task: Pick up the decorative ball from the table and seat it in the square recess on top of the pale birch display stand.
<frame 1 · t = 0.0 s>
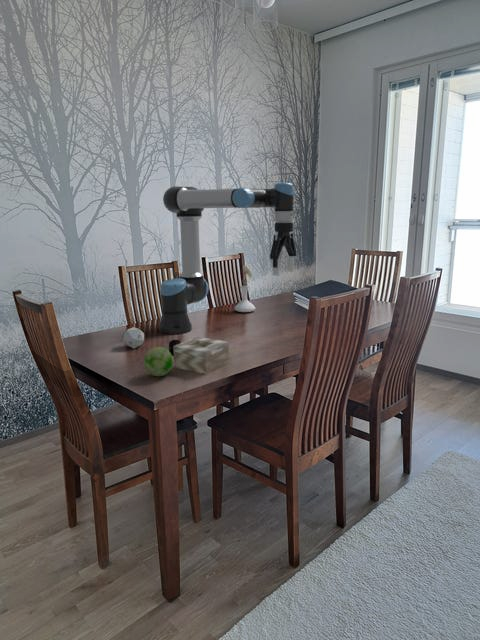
hand: (283, 273, 196), 28 cm above the table, tool pointing down, fingers open, 13 cm apart
decorative ball: (159, 376, 158), on the table
black box: (175, 353, 185), on the table
display stand: (201, 365, 168), on the table
grey faceted polyhedron: (134, 347, 192), on the table
flower in vase: (245, 311, 254), on the table
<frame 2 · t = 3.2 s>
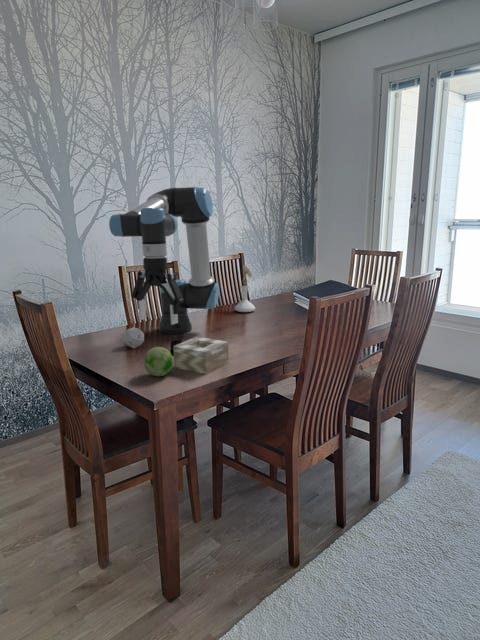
hand: (158, 321, 154), 19 cm above the table, tool pointing down, fingers open, 13 cm apart
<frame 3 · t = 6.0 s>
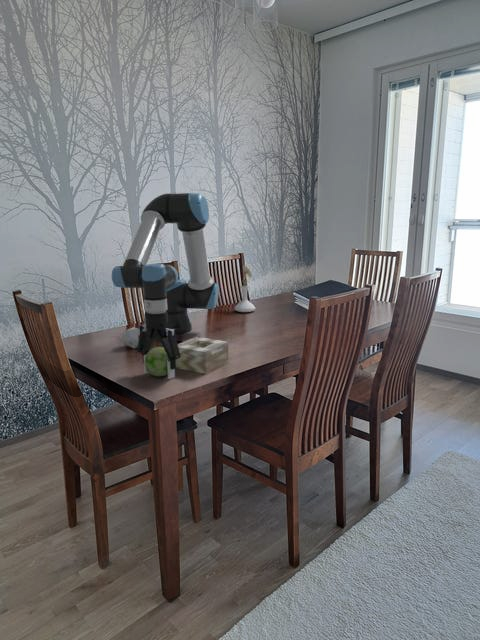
hand: (159, 375, 158), 0 cm above the table, tool pointing down, fingers closed on decorative ball, 10 cm apart
decorative ball: (160, 376, 158), on the table, touching gripper
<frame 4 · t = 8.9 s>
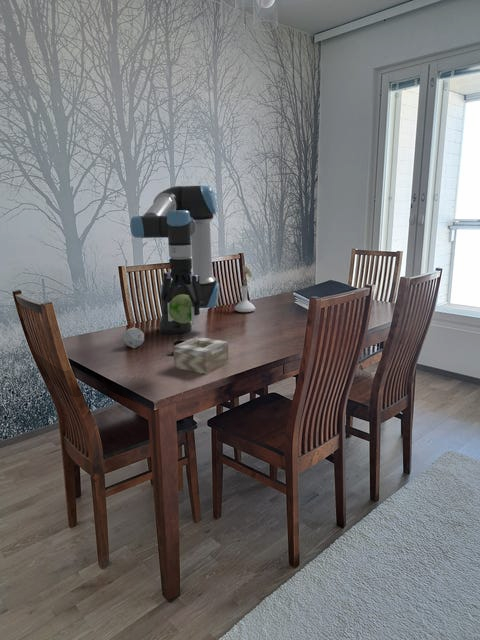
hand: (183, 322, 160), 17 cm above the table, tool pointing down, fingers closed on decorative ball, 10 cm apart
decorative ball: (183, 323, 161), point 17 cm above the table, touching gripper
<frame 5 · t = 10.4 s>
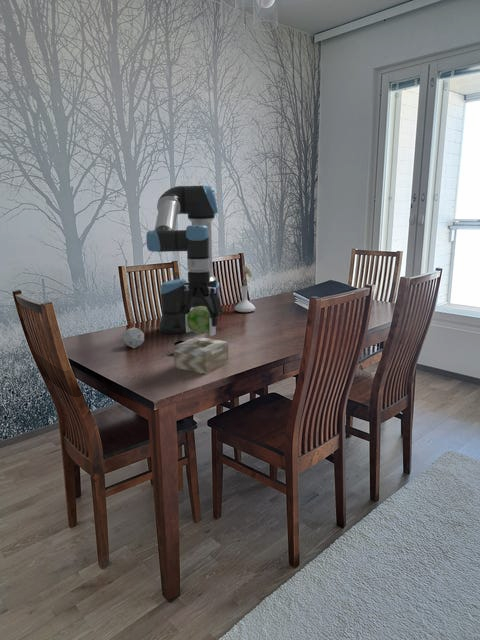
hand: (200, 333, 165), 12 cm above the table, tool pointing down, fingers closed on decorative ball, 10 cm apart
decorative ball: (201, 334, 166), point 12 cm above the table, touching gripper
when the fingers open (10 cm above the table, at t = 11.8 s): decorative ball drops 2 cm, resting on display stand.
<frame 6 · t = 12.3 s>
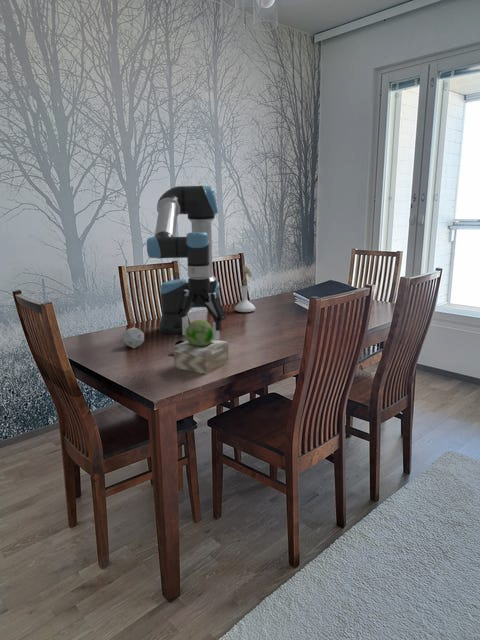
hand: (200, 336, 166), 11 cm above the table, tool pointing down, fingers open, 13 cm apart
decorative ball: (202, 346, 167), point 7 cm above the table, touching display stand
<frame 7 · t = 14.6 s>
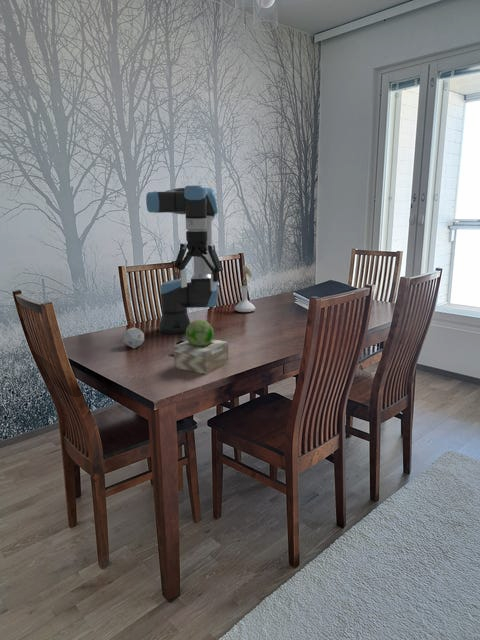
hand: (198, 288, 171), 26 cm above the table, tool pointing down, fingers open, 13 cm apart
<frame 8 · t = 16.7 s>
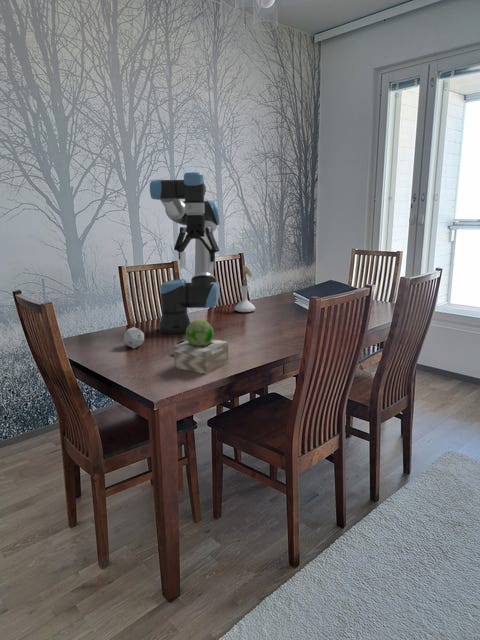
hand: (196, 269, 184), 32 cm above the table, tool pointing down, fingers open, 13 cm apart
at the end: decorative ball 0.6 cm off-centre on the display stand, point 6.8 cm above the display stand's base; decorative ball touching display stand; the gripper is holding nothing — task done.
